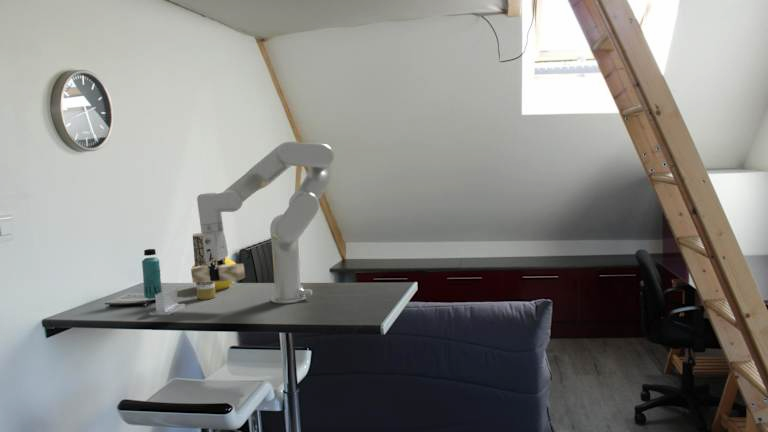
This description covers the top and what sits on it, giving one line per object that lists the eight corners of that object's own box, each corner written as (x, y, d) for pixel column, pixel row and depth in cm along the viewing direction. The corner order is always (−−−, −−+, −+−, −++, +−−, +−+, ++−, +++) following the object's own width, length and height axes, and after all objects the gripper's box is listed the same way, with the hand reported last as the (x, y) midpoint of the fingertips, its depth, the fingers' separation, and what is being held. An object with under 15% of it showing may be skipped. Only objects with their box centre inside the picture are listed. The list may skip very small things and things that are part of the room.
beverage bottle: (143, 303, 221) (139, 251, 220) (145, 299, 228) (141, 248, 226) (161, 301, 223) (157, 249, 221) (163, 298, 229) (159, 247, 228)
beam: (245, 277, 208) (243, 263, 208) (238, 280, 203) (236, 266, 203) (200, 279, 213) (198, 265, 212) (192, 282, 208) (190, 268, 208)
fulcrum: (184, 306, 213) (183, 287, 213) (168, 315, 201) (167, 295, 201) (166, 306, 214) (165, 287, 214) (149, 315, 202) (148, 295, 202)
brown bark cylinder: (210, 300, 222) (205, 234, 220) (194, 300, 223) (189, 235, 221) (218, 296, 228) (214, 232, 226) (202, 296, 230) (198, 232, 228)
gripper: (212, 230, 197) (219, 283, 199) (231, 224, 214) (237, 272, 216) (191, 232, 198) (198, 285, 200) (212, 225, 215) (218, 274, 217)
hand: (218, 278), depth 208 cm, fingers closed on beam, 5 cm apart
